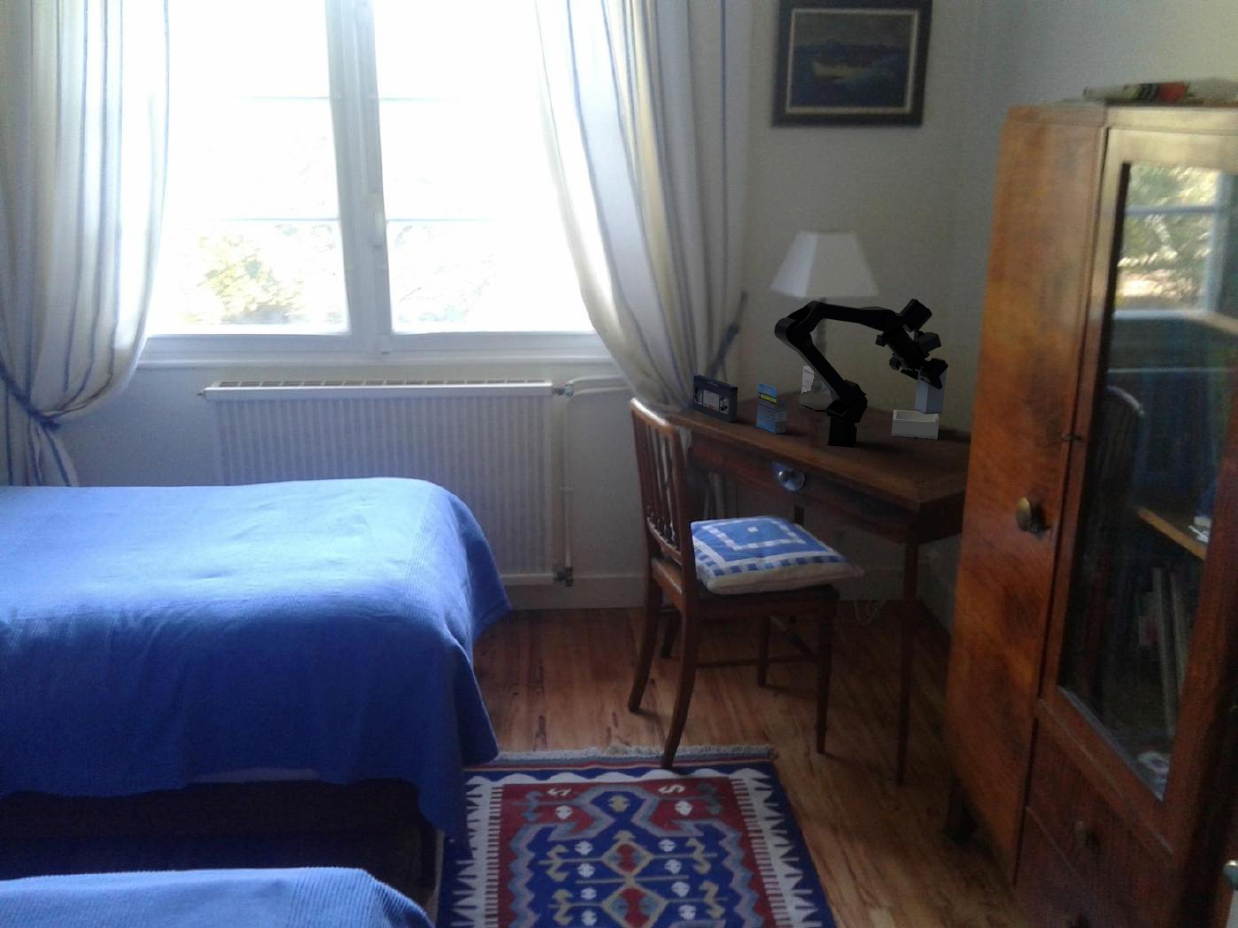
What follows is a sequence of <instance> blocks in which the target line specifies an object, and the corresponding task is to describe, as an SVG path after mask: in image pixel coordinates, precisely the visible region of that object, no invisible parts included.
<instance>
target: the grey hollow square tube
mask: <svg viewBox="0 0 1238 928" xmlns="http://www.w3.org/2000/svg"><path fill="white" fill-rule="evenodd" d="M947 370H948V368H947V369H946V370H945V371H944V372H943V373H942V374H941V375H940V379H941V383H942V386H943V387H942V388H941V389H940V390H939V389H937V388H935V387H933V386H931V385H929V384H928V383H926V382H924V381H922V380H920V379H921V378H922V377H921V376H920V371H921V370H920V371H918V380H916V381H917V383H916V391H915V402H914V411H917V412H921V413H923V414H938V415H939V414H941V415H942V414H943V408H944V397H945V389H946V379H947Z"/></svg>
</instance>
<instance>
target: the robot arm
mask: <svg viewBox="0 0 1238 928" xmlns="http://www.w3.org/2000/svg"><path fill="white" fill-rule="evenodd" d="M932 317H933V313H932V310H931V309H930V308H929V307H927V306H925V305H924V304H923V303H922V302H920V301H919V300H918V299H917V298H911V299H910V300H909V301H908V303H906V306H904V308H902V310H901V311H900V312H897V311H896V312H895V310H893V309H889V308H885V307H884V306H883V307H882V306H877V305H873V306H864V307H853V306H848V305H840V304H834V303H828V302H822V301H819V300H811V301H809V302H807V303H806V304H805V305H804V306H802V307H800V308H799V309H796V310H795V311H793V312H791V313H789V314H788V315H787V316H786V317H782V318H780V319H778V320H777V322H776V323H775V326H774V331H773V333H774V335H775V337H776V338H777V340H779V341H780V342H781V343H783V344H784V345H785V346H787V347H788V348H790V349H791V350H793V351H794V352H796V353H797V355H799V356H800V357H801V359H802V360H803V361H804V362H805V363H806V364H807V366H809V367H810V368H811V369H812V370H813V371H814V372H815V374H816V375H817V376H818V377H819V378H820V379H821V381H822V382H823V383H824V384H825V385H826V386H827V388H828V389H829V390H830V399H831V400H832V401H830V404H829V406H828V407H827V408H826V409H825V413H826V416H827V417H829V418H830V420H829V427H828V428H829V429H828V440H827V443H826V444H827V445H829V446H830V445H831V446H842V447H854V445H855V444H856V443H857V438H858V428H859V427H858V424H859V423H861V420H862V417H863V415H864V413H865V412H866V409H867V408H868V403H869V400H868V398H867V397H866V396H867V394H868V393H866V392H864V391H863V390H862V388H861V386H860V385H859V384H858V383H857V382H854V381H851V380H850V379H847V378H845V379H844V378H843V377H842V376H841V375H840V374H839V372H837V370H836V369H835V368H834V367H833V366H832V364H831V363H830V361H828V360H827V359H826V356H824V355H823V353H822V352H821V351H820V350H819V349H818V347H817V346H816V345H815V344H814V341H813V337H812V334H811V333H812V332H813V331H814V330H815V329H816V328H817V326H818V325H819V323H820V322H821V321H822V320H823V319H826V320H832V321H839V322H846V323H853V324H859V325H861V326H863V327H867V328H869V329H873V330H876V331H879V332H882V333H881V334H876V340H875V342H874V343H875V346H879V347H883V348H884V347H886V346H888V348H889V349H890V350H891V352H892V353H891V357H890V359H889V362H888V365H889V366H890V368H891V369H892V370H893V371H897V372H899V371H900V374H902V375H904V376H907V377H909V378H911V379H914V380H915V381H917V380H918V371H920V370H921V371H920V376H921V377H922V378H921V379H920V380H922V381H924V382H926V383H928V384H929V385H931V386H933V387H935V388H937V389H939V390H940V389H941V388H942V387H943V386H942V383H941V379H940V375H941V374H942V373H943V372H944V371H945V370H946V369H947V370H948V368H949V364H948V362H947V361H946V360H945V359H944V358H938V357H932V358H930V359H929V360H928V357H930V355H931V354H930V352H932V351H934V350H937V348H938V349H939V348H941V347H942V342H941V338H940V336H939V333H935V332H933V331H925V332H924V331H923V330H921V328H922V327H923V326H924V325H926V323H927V322H928V321H929V320H930V319H931V318H932ZM912 332H913V338H912V337H911V335H909V333H912ZM900 369H901V370H900Z"/></svg>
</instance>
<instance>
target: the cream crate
mask: <svg viewBox="0 0 1238 928" xmlns="http://www.w3.org/2000/svg"><path fill="white" fill-rule="evenodd" d="M939 425H940V421H939V414H923V413H921V412H918V411H915V410H901V409H893V414H892V425H891V435H890V436H894V437H901V438H902V437H903V438H914V437H918V438H917V439H926V438H928V439H927V440H938V434H939V427H940V426H939Z"/></svg>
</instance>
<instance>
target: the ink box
mask: <svg viewBox="0 0 1238 928" xmlns="http://www.w3.org/2000/svg"><path fill="white" fill-rule="evenodd" d="M813 379H814V371H813V370H812V369H811V368H810V367H809V365H804V366H802V379H801V380H802V381H801V383H802V384H801V393H800V394H802V393H803V392H807V391H810V390H811V385H812V383H813ZM822 390H823V392H824V393H826V394H827V395H829V396H830V397H831V394H830V390H829V389H828V388H827V386H826V385H825V384H824V383H823V382H822Z"/></svg>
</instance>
